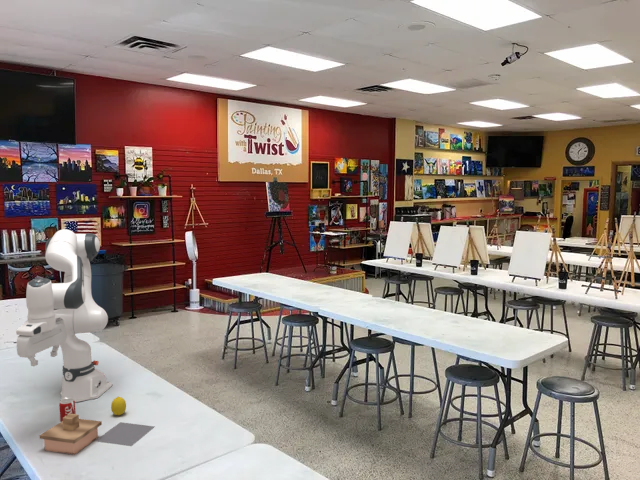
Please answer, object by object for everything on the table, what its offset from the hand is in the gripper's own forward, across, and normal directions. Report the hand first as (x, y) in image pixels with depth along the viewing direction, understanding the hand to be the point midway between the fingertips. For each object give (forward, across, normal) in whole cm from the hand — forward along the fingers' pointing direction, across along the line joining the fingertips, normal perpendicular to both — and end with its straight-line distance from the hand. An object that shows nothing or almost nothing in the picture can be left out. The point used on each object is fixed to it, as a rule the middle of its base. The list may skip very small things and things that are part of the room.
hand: (44, 360), depth 185 cm
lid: (+23, +6, +14) cm, 27 cm away
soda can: (+28, -3, +6) cm, 29 cm away
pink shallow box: (+28, +6, +14) cm, 32 cm away
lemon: (+28, -18, +17) cm, 38 cm away
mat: (+28, -5, +29) cm, 40 cm away
